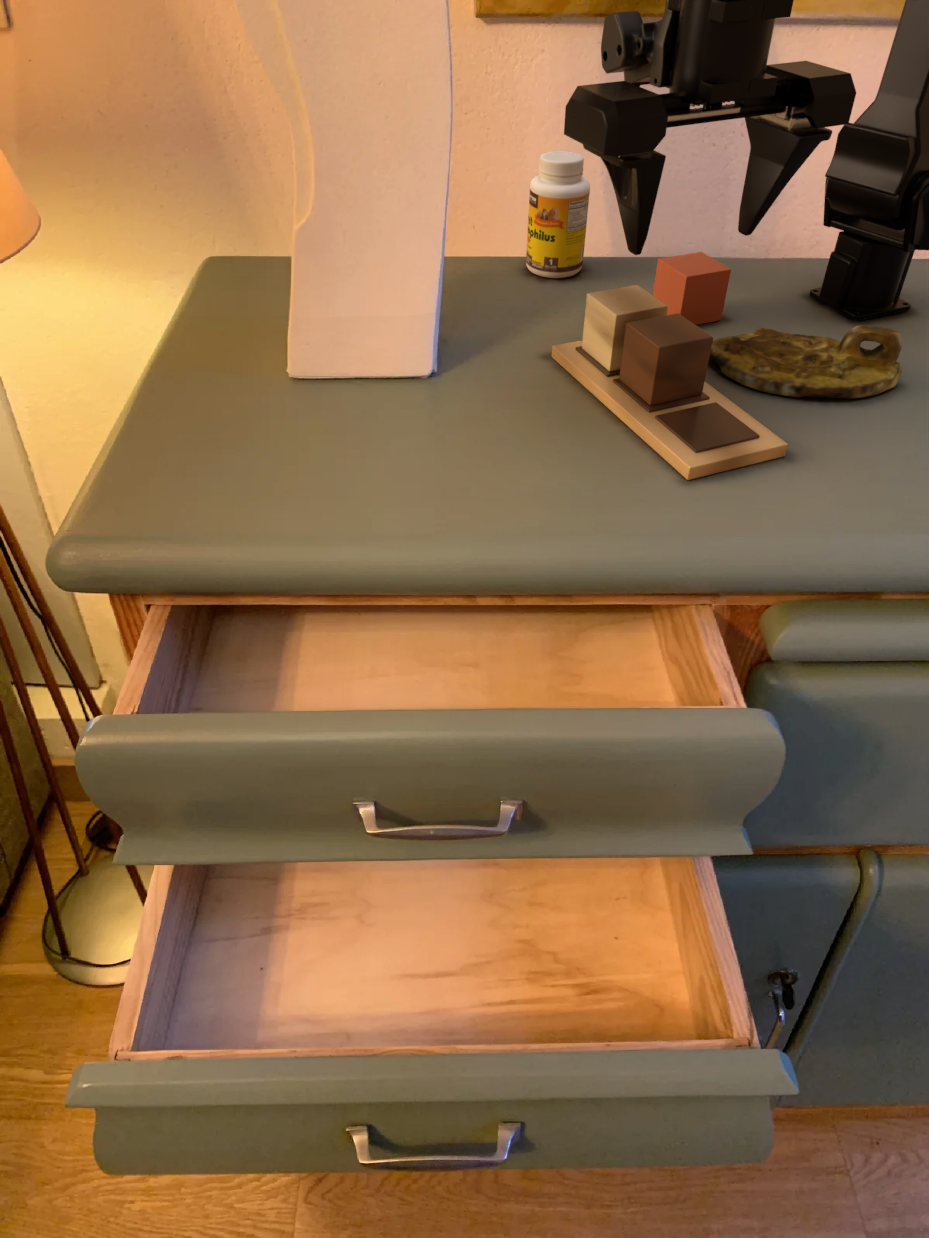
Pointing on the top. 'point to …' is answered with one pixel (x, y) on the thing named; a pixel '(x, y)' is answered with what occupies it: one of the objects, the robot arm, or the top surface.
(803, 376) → the olive brown carved pendant
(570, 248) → the supplement bottle
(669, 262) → the orange-red cube
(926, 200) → the robot arm
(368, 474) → the top surface
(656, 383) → the dark brown cube
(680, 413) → the word board
